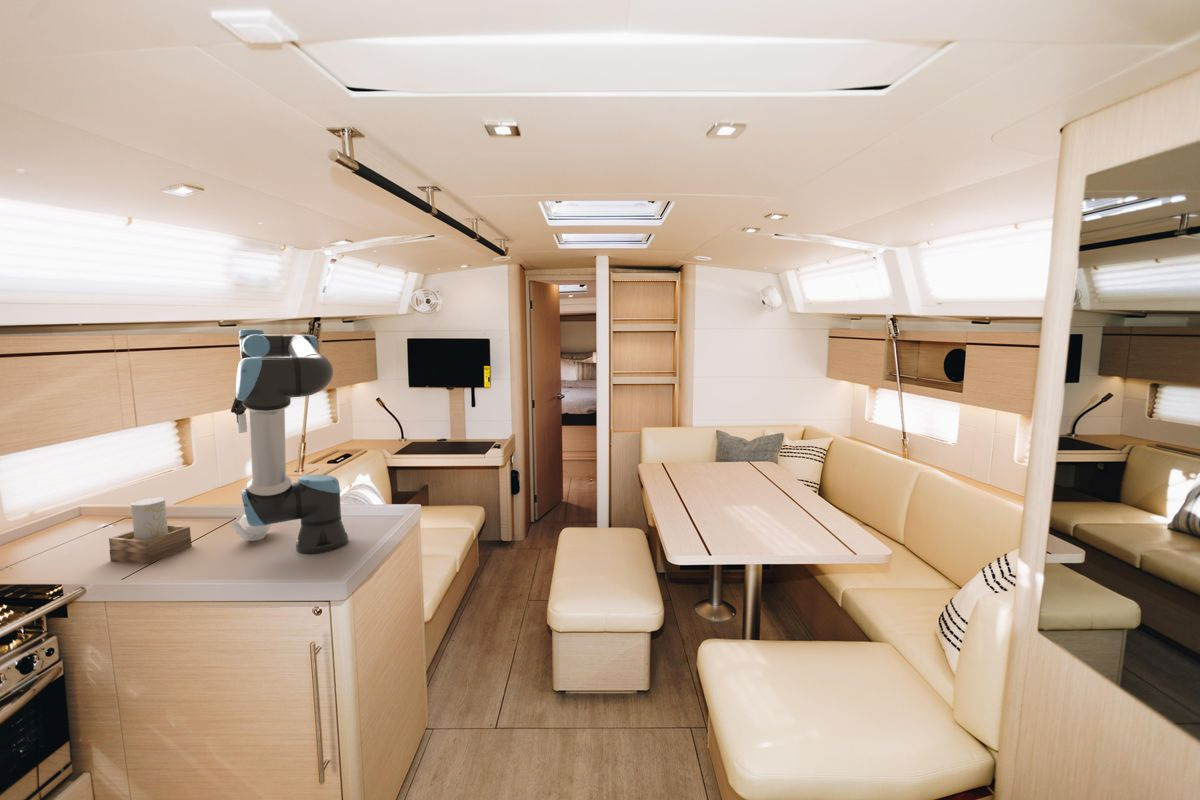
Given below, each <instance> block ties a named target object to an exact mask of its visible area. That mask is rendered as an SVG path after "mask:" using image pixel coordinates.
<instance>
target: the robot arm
mask: <svg viewBox="0 0 1200 800" xmlns="http://www.w3.org/2000/svg"><path fill="white" fill-rule="evenodd" d="M238 341H239V351H240V361H239V362H238V366H237V370H236V378H235V384H236V385H235V397H234V399H233V400H234V401H233V403H232V407H231V408H230V413H232V414H233V413H234V414H235V415H236V422H237V426H238V434H243V433H247V432H248V424H247V423H248V422H247V414H246V410H249V426H250V427H249V429H250V448H251V449H250V451H251V452H250V454H251V473H252V474H251V475H252V478H251V479H250V480H248V482H247V484H246V488H243V489H241V491H240V494H241V499H242V503H243V507H244V508H243V509H244V514H246V518H247V521H248V524H249V525H251V526H261V525H265V526H266V525H268V524H271V525H274V524H278V523H285V522H290V521H295V520H296V521H297V520H300V530H299V532H298V535H297V536H298V537H297V540H296V541H295V548H296V549H295V550H296V552H297V553H298V554H303V555H318V554H324V553H330V552H333V551H337V550H339V549H342V548H343V547H346V546H347V545H348V543H349V535H348V533H347V532H346V529H345V527H344V524H343V521H342V509H341V508H342V507H341V488H340V481H339V479H337V478H336V477H335V476H333V475H329V474H328V475H327V474H326V475H325V474H305V475H302V476H299V478H297V481H295V482H292V479H291V477H289V476H288V475H287V467H286V464H287V463H286V461H287V460H286V421H285V420H286V418H285V417H286V412H285V409H286V408H288V407H289V406H290V405H291V398H300V397H301V398H303V397H308V396H312V395H315V394H317V393H319V392H321V391H323V390H324V389H325V388H326V387H328V385H329V384H330V383H331V381H332V378H333V376H334V369H333V368H334V367H333V365H332V363H331V362H330V361H329V359H328V358H327V357H326V356H324V355H322V354H320V353H319V352H318V341H317V338H316V336H315V335H313V334H265V331H264V330H263V329H257V328H246V329H245V328H242V329H240V330H239V332H238Z"/></svg>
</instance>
